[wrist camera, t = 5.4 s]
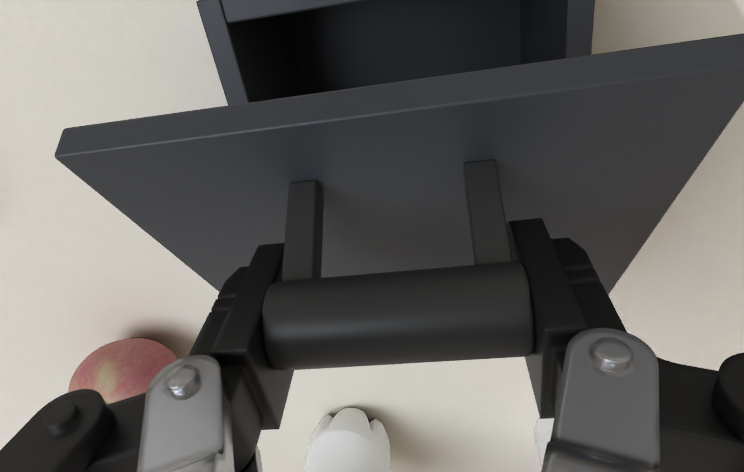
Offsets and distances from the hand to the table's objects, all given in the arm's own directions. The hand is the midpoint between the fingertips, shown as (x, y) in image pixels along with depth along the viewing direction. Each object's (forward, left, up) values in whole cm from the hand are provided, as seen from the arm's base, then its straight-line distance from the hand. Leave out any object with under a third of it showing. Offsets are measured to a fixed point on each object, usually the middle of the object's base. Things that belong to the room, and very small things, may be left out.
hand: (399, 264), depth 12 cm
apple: (+12, -29, -19) cm, 37 cm away
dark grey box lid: (+3, -1, -5) cm, 6 cm away
